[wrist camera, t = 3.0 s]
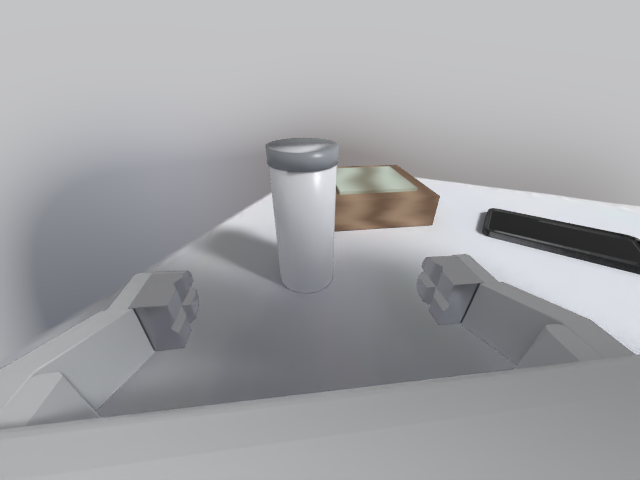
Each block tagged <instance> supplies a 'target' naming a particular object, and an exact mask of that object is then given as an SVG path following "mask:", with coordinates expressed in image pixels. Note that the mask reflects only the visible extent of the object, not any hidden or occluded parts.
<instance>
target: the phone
mask: <svg viewBox="0 0 640 480" xmlns="http://www.w3.org/2000/svg"><path fill="white" fill-rule="evenodd" d="M483 233H484V234H485V235H487V236H489V237H492V238H496V239H500V240H504V241H508V242H512V243H516V244H520V245H524V246H528V247H532V248H536V249H540V250H544V251H548V252H552V253H556V254H560V255H564V256H568V257H572V258H576V259H580V260H584V261H588V262H592V263H596V264H600V265H604V266H608V267H612V268H616V269H620V270H624V271H628V272H632V273H636V274H640V239H638V238H635V237H632V236H629V235H625V234H620V233H615V232H610V231H605V230H600V229H595V228H590V227H585V226H580V225H575V224H570V223H565V222H560V221H556V220H551V219H546V218H541V217H536V216H531V215H526V214H521V213H516V212H511V211H506V210H501V209H495V208H492V209H489V210H488V212H487V215H486V219H485V223H484V227H483Z"/></svg>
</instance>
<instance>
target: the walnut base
mask: <svg viewBox="0 0 640 480" xmlns="http://www.w3.org/2000/svg"><path fill="white" fill-rule="evenodd" d="M439 198H440V196H439V195H438V194H436V193H435V192H433V191H432V190H431V189H429V188H428V187H427V186H425V185H424V184H422V183H421V182H420V181H418V180H417V179H415V178H414V177H413V176H411V175H410V174H408V173H407V172H405V171H404V170H403V169H401V168H400V167H399V166H397V165H380V166H351V167H337V169H336V199H335V229H334V231H346V230H362V229H378V228H394V227H409V226H425V225H432V224H433V220H434V217H435V213H436V209H437V205H438V201H439Z"/></svg>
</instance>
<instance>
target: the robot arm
mask: <svg viewBox="0 0 640 480" xmlns="http://www.w3.org/2000/svg"><path fill="white" fill-rule="evenodd" d="M422 268H423V270H424V271H423V272H422V273H421V274H420V275H419V277H418V281H417V289H418V293H419V296H420V297H421V299H422V301H424V302H425V303H427V304H429V305H430V306H429V311H430V313H431V315H432V316H433V318H434V319H435V321H436V322H437V324H438V325H445V324H461V323H462V324H461V325H462V326H464V327H465V328H467V329H468V330H469V331H471V332H472V333H473V334H475V335H476V336H477V337H479V338H480V339H482V340H483V341H484V342H486V343H487V344H488V345H490V346H491V347H492V348H494V349H495V350H497V351H498V352H499V353H501V354H502V355H503V356H505V357H506V358H507V359H509V360H510V361H512V362H513V363H514V364H516V365H517V366H516V367H515V369H511V370H503V371H494V372H486V373H477V374H469V375H460V376H452V377H443V378H435V379H426V380H418V381H409V382H401V383H392V384H384V385H375V386H367V387H358V388H350V389H341V390H333V391H324V392H316V393H307V394H298V395H290V396H281V397H273V398H264V399H255V400H247V401H238V402H230V403H221V404H213V405H204V406H196V407H187V408H178V409H170V410H161V411H153V412H144V413H136V414H127V415H119V416H110V417H100V416H99V415H98V414H97V413H96V411H97V410H98V409H99V408H100V407H101V406H102V405H103V404H104V403H105V402H106V401H107V400H108V399H109V398H110V397H111V396H112V395H113V394H114V393H115V392H116V391H117V390H118V389H119V388H120V387H121V386H122V385H123V384H124V383H125V382H126V381H127V380H128V379H129V378H130V377H131V376H132V375H133V374H134V373H135V372H136V371H137V370H138V369H139V368H140V367H141V366H142V365H143V364H144V363H145V362H146V361H147V360H148V359H149V358H150V357H151V356H152V355H153V354H154V353H155V351H162V350H171V349H179V348H185V346H186V343H187V340H188V338H189V335H190V332H191V327H190V323H191V322H192V321H193V320H195V319H196V316H197V313H198V307H199V298H198V294H197V291H196V290H195V289H194V288H192V287H191V285H192V283H193V278H192V275H191V273H190V272H189V271H165V272H144V273H137V274H135V275H134V276H133V277H132V278H131V280H130V281H129V282H128V283H127V285H126V286H125V287H124V289H123V290H122V291H121V292H120V294H119V295H118V296H117V297H116V299H115V300H114V301H113V303H112V304H111V305H110V306H109V308H108V309H107V310H106V311H99V312H98V313H96V314H94V315H93V316H91V317H89V318H87V319H86V320H84V321H82V322H81V323H79V324H77V325H75V326H74V327H72V328H70V329H69V330H67V331H65V332H63V333H62V334H60V335H58V336H56V337H55V338H53V339H51V340H50V341H48V342H46V343H44V344H43V345H41V346H39V347H38V348H36V349H34V350H32V351H31V352H29V353H27V354H25V355H24V356H22V357H20V358H19V359H17V360H15V361H13V362H12V363H10V364H8V365H7V366H5V367H3V368H1V369H0V480H640V355H635V354H634V353H633V352H631V351H630V350H629V349H628V348H626V347H625V346H624V345H622V344H621V343H620V342H619V341H617V340H616V339H615V338H613V337H612V336H611V335H609V334H608V333H607V332H606V331H604V330H603V329H602V328H600V327H599V326H598V325H596V324H595V323H594V322H593V321H591V320H590V319H587V318H585V317H583V316H580V315H578V314H576V313H573V312H571V311H569V310H566V309H564V308H562V307H560V306H557V305H555V304H553V303H550V302H548V301H546V300H543V299H541V298H539V297H536V296H534V295H532V294H530V293H527V292H525V291H523V290H520V289H518V288H516V287H513V286H511V285H509V284H506V283H504V282H498V281H497V280H496V279H495V278H494V277H493V276H491V275H490V274H489V273H488V272H487V271H486V270H485V269H484V268H483V267H482V266H481V265H479V264H478V263H477V262H476V261H475V260H474V259H473V258H472V257H471V256H469V255H466V254H461V255H452V256H439V257H426V258H425V259H424V260H423V263H422Z"/></svg>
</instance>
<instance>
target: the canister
mask: <svg viewBox="0 0 640 480" xmlns="http://www.w3.org/2000/svg"><path fill="white" fill-rule="evenodd" d="M338 150H339V145H338V143H336V142H334V141H331V140H326V139H318V138H291V139H282V140H276V141H272V142H270V143H268V144H266V154H267V164H268V165H269V169H270V178H271V187H272V198H273V207H274V217H275V226H276V236H277V245H278V254H279V264H280V273H281V280H282V283H283V284H284V286H286V287H287V288H288V289H290V290H292V291H295V292H298V293H313V292H317V291H320V290H322V289H324V288H326V287H327V286H328V285H329V284H330V283H331V281H332V279H333V259H334V229H335V199H336V169H337V164H338Z"/></svg>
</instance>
